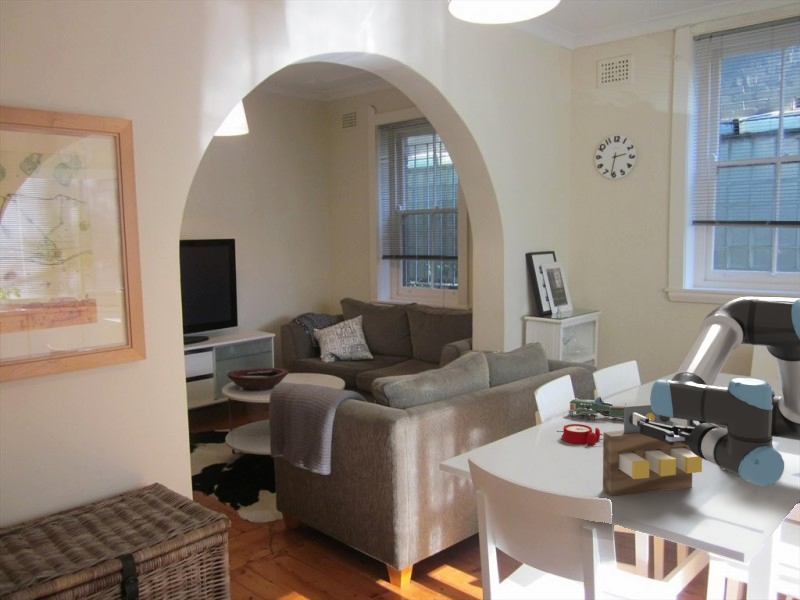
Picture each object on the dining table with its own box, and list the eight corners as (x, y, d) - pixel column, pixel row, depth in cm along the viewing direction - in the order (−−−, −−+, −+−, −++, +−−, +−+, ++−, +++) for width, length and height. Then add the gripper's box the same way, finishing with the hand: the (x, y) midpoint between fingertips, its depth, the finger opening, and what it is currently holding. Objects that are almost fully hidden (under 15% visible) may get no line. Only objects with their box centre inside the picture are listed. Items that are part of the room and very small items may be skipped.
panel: (692, 487, 178) (693, 428, 177) (610, 496, 173) (611, 436, 172) (682, 481, 182) (683, 424, 181) (602, 490, 177) (603, 432, 176)
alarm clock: (564, 422, 229) (607, 418, 220) (568, 440, 229) (611, 437, 220) (553, 430, 220) (597, 426, 212) (557, 449, 220) (602, 446, 212)
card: (673, 429, 177) (673, 403, 176) (625, 433, 174) (626, 407, 173) (671, 428, 178) (671, 402, 177) (623, 432, 175) (624, 406, 174)
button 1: (649, 477, 167) (649, 461, 167) (634, 479, 166) (634, 462, 166) (629, 465, 176) (629, 450, 176) (615, 467, 175) (615, 451, 175)
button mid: (675, 474, 169) (675, 458, 168) (660, 476, 168) (661, 460, 167) (655, 463, 178) (655, 447, 177) (640, 464, 177) (641, 449, 176)
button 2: (701, 472, 170) (702, 456, 170) (687, 473, 169) (687, 457, 169) (679, 460, 179) (680, 445, 179) (666, 461, 178) (666, 446, 178)
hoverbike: (571, 412, 255) (571, 391, 255) (640, 418, 244) (640, 396, 244) (566, 418, 247) (566, 396, 246) (636, 425, 236) (637, 402, 235)
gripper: (667, 466, 137) (611, 435, 159) (760, 457, 142) (693, 428, 163) (668, 431, 136) (611, 404, 158) (761, 423, 141) (693, 398, 163)
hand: (653, 416), depth 161 cm, fingers open, 9 cm apart
